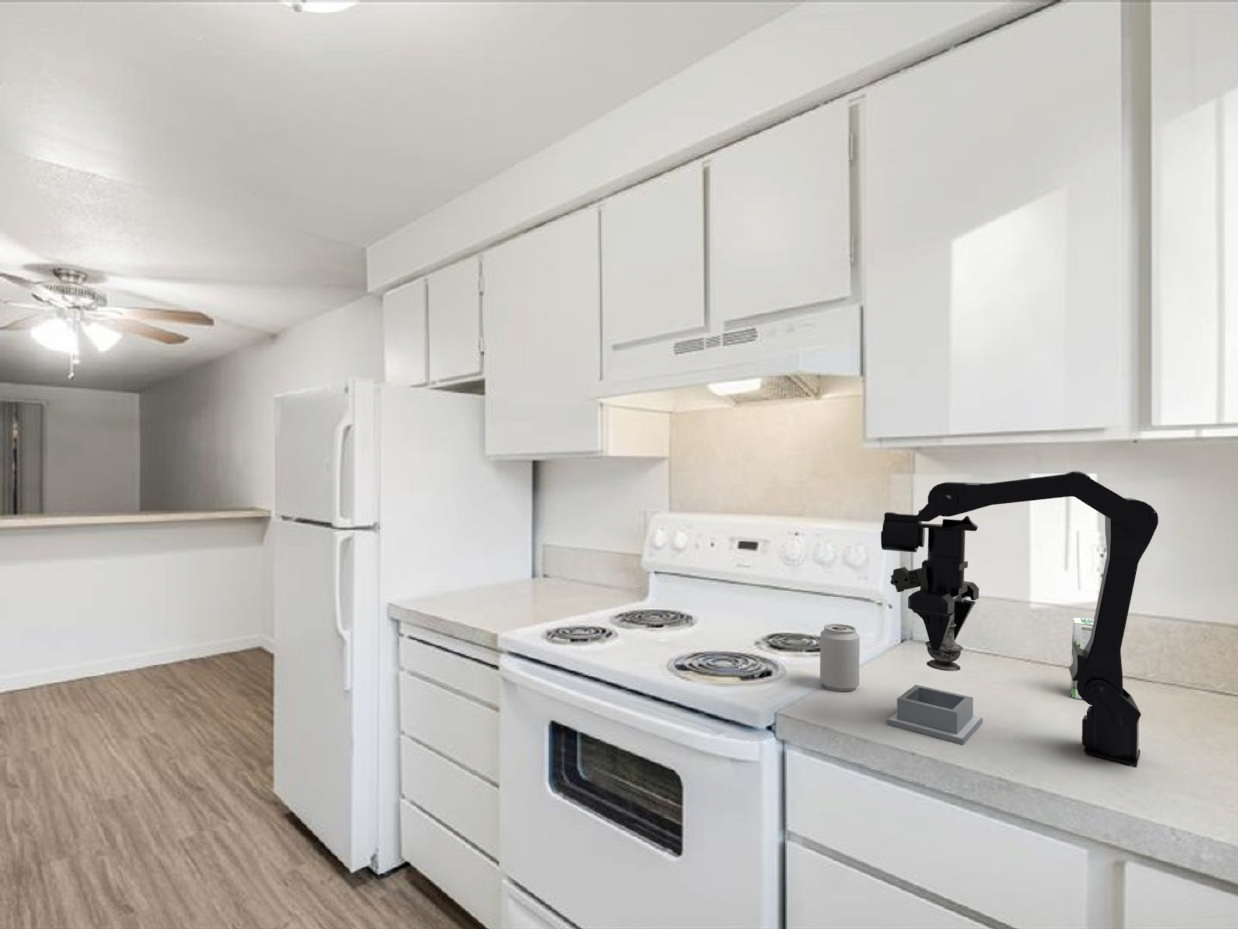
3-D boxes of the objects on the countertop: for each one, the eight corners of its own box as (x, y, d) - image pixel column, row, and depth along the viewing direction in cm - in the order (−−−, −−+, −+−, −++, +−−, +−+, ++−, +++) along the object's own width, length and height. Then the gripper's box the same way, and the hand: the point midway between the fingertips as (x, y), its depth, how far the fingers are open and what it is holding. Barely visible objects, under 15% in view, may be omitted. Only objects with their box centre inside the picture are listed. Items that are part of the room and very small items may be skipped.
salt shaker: (968, 672, 111) (970, 601, 111) (931, 670, 112) (933, 599, 112) (954, 661, 117) (956, 593, 117) (919, 660, 118) (921, 592, 117)
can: (855, 681, 136) (856, 622, 136) (862, 694, 128) (863, 632, 128) (817, 679, 137) (818, 621, 137) (822, 691, 130) (822, 630, 129)
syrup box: (1070, 689, 131) (1070, 616, 131) (1106, 695, 128) (1107, 620, 128) (1072, 698, 126) (1073, 622, 126) (1110, 704, 123) (1111, 626, 123)
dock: (982, 722, 115) (982, 697, 114) (963, 744, 106) (963, 717, 106) (910, 705, 123) (910, 681, 122) (886, 724, 114) (887, 698, 114)
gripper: (916, 545, 126) (914, 627, 127) (877, 555, 113) (875, 646, 113) (980, 552, 119) (978, 638, 119) (948, 563, 105) (945, 661, 105)
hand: (943, 645), depth 114 cm, fingers closed on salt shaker, 8 cm apart
